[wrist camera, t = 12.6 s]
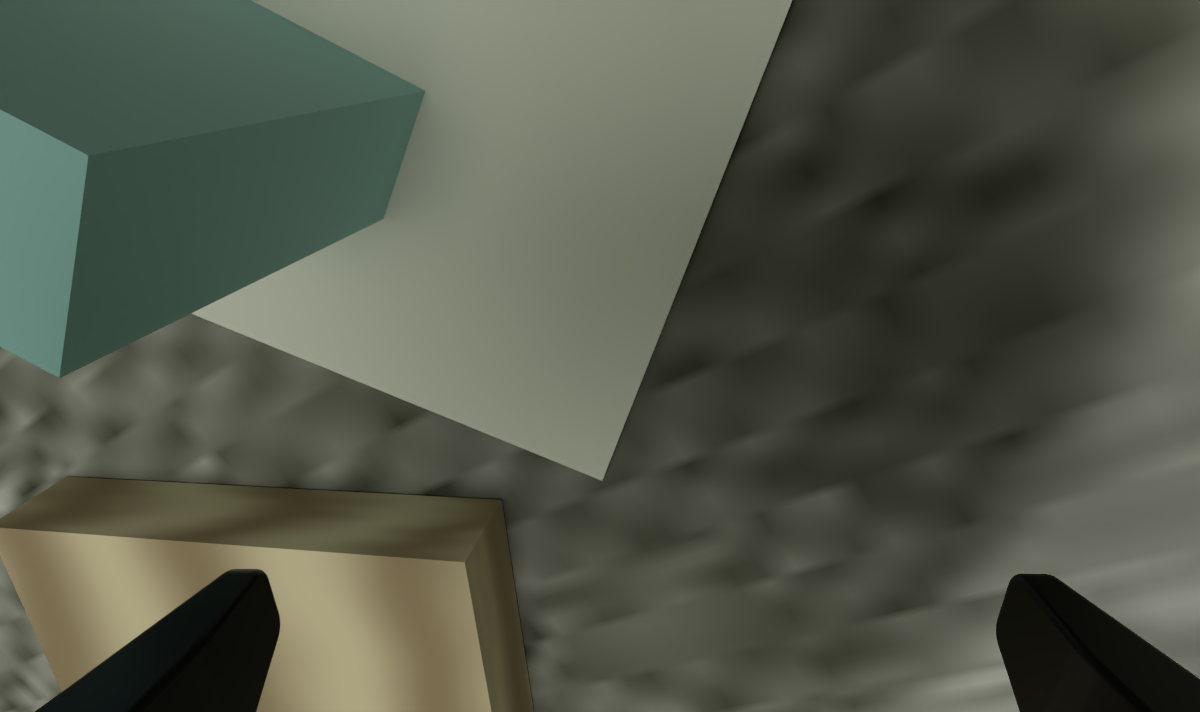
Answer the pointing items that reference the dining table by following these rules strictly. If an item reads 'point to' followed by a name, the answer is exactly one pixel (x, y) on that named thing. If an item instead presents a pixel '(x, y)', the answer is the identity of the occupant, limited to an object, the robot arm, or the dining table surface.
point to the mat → (524, 207)
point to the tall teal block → (174, 162)
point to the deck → (285, 586)
